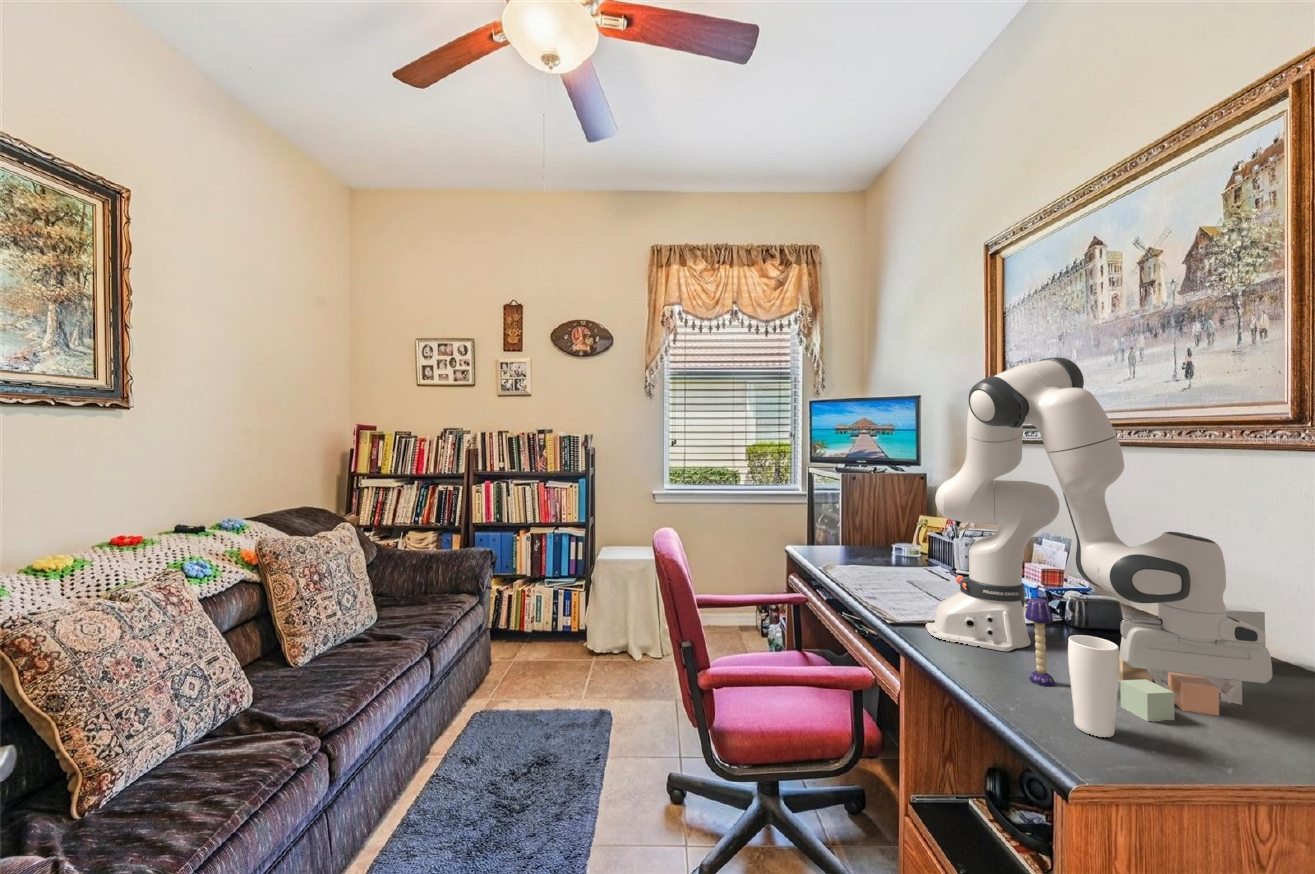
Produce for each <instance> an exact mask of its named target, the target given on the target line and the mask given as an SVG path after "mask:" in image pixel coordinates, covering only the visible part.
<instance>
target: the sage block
mask: <svg viewBox="0 0 1315 874" xmlns="http://www.w3.org/2000/svg"><path fill="white" fill-rule="evenodd" d="M1119 683H1120V685H1119V686H1120V708H1121V707H1122V709H1123V708H1124V710H1125V709H1126V710H1125V711H1127V712H1129V711H1130V712H1129V713H1131V712H1132V713H1133V715H1134V714H1135V716H1136V717H1138V716H1139V717H1138V718H1140V717H1141V718H1140V719H1142V720H1143V719H1144V721H1145V720H1147V721H1152V722H1157V721H1156V720H1174V721H1175V704H1174V692H1172V691H1170V690H1168V689H1166V688H1164V687H1161V686H1159V685H1157V684H1155V682H1153V681H1152V682H1151V681H1148V680H1146V679H1143V680H1120V682H1119ZM1132 713H1131V714H1132ZM1153 720H1154V721H1153ZM1147 721H1146V722H1147Z"/></svg>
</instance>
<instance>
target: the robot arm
mask: <svg viewBox="0 0 1315 874" xmlns="http://www.w3.org/2000/svg"><path fill="white" fill-rule="evenodd" d="M1084 384H1085V381H1084V376H1083V373H1082V371H1081V368H1079V366H1078V365H1077V364H1076V363H1075V362H1074V361H1072V360H1071V359H1068V358H1065V357H1059V356H1058V357H1048V358H1047V357H1046V358H1041V359H1039V360H1038V361H1033V362H1032V361H1031V362H1027V363H1025V364H1020V365H1017V366H1014V367H1012V368H1011V369H1010V368H1009V369H1006V370H1004V371H1002V372H999V373H998V374H996V375H991V376H988V377H986V378H984V379H982V380H980V381H979V382H977V383H975V384H974V385H973V386H971V388H970V391H969V393H968V410H967V419H966V450H965V451H966V453H965V459H964V462H963V465H962V466H961V468H960V470H959V471H958V472H957V473H956V474H955V475H953V476H952V477H951V478H949V479H947V480H945V481H944V482H942V483H941V484H940V486H939V487H938V489H936V493H935V498H934V500H935V507H936V508H937V510H938V512H939V513H940V515H941V516H942V517H943V518H945V519H948V520H951V521H956V522H961V523H967V524H981V525H983V524H985V525H994V526H997V527H998V529H997V531H996V532H995V533H994V534H992V535H989V536H987V537H984V538H981V539H978V540H976V541H975V542H972V544H971V546H970V547H969V550H968V576H967V577H964V576H963V575H957V576H955V581H956V582H957V584H958V585H959V589H960V590H959V591H958V592H957V593H955V594H953V595H951V596H950V597H949V596H948V597H947V598H945V599H944V600H942V601H941V602H939V604H938V605H937V608H936V611H935V616H934V618H935V622H934V623H927V624H926V623H925V629H926V628H927V630H928V632H929V633H930V634H931V635H933V636H934V637H937V638H939V639H942V640H941V641H943V640H946V641H945V642H949V641H950V642H949V643H955V642H959V643H958V644H960V643H963V644H962V645H966V644H968V645H967V646H973V647H977V646H980V647H979V648H984V649H989V650H990V649H991V650H994V651H995V650H996V651H1000V652H1001V651H1002V652H1010V651H1013V650H1015V649H1022V648H1026V647H1028V646H1030V645H1031V643H1032V641H1031V639H1030V636H1029V633H1028V629H1027V625H1026V620H1025V619H1026V617H1025V613H1024V607H1025V603H1026V589H1025V584H1024V583H1023V580H1022V579H1023V578H1022V577H1023V563H1024V562H1023V561H1024V553H1025V549H1026V548H1027V545H1028V543H1029V541H1030V540H1031V538H1033V536H1034V535H1035V534H1036V533H1038V532H1039V531H1040V530H1042V529H1043V528H1044V527H1046V526H1049V525H1050V524H1051V523H1053V521H1055V519H1056V518H1057V516H1058V515H1059V512H1060V504H1061V503H1060V499H1059V497H1058V494H1056V491H1054V490H1053V489H1052V487H1050V486H1049V485H1047V484H1044V483H1038V482H1033V481H1029V480H1028V481H1027V480H1003V479H1002V480H1001V479H1000V480H999V479H997V478H998V477H1001V476H1004V475H1007V474H1009V473H1011V472H1012V471H1014V470H1015V469H1016V468H1017V467H1018V466H1019V465H1021V462H1022V460H1023V432H1024V431H1023V424H1024V423H1028V424H1030V425H1032V426H1033V427H1035V428H1036V429H1037V431H1038V432H1039V434H1040V437H1041V440H1042V443H1043V445H1044V448H1045V451H1046V454H1047V456H1048V459H1049V461H1050V464H1051V466H1052V469H1053V470H1054V474H1055V476H1056V478H1057V480H1058V483H1059V485H1060V488H1061V490H1062V494H1063V498H1064V502H1065V504H1066V508H1067V511H1068V513H1069V514H1068V515H1069V517H1070V521H1071V524H1072V526H1073V530H1074V533H1075V538H1076V550H1075V566H1076V569H1077V571H1078V573H1079V574H1080V576H1081V577H1082V578H1083V579H1084V580H1085V581H1086V582H1088V583H1089V584H1091V585H1093V586H1095V587H1097V588H1100V589H1103V590H1106V591H1107V592H1110V594H1113V595H1115V596H1117V597H1119V598H1122V599H1124V600H1127V601H1129V602H1132V603H1137V604H1158V605H1157V607H1158V608H1157V611H1158V612H1157V615H1158V618H1156V617H1155V618H1154V617H1140V616H1129V618H1128V617H1127V618H1125V619H1123V620H1121V621H1120V625H1119V626H1120V629H1119V630H1120V635H1121V641H1120V645H1119V646H1120V647H1119V651H1120V656H1121V658H1122V659H1123V660H1124V661H1125V662H1126V663H1127V664H1128V665H1129V666H1131V667H1134V668H1142V669H1147V671H1148V673H1149V674H1150V676H1151V677H1152V681H1154V683H1155V684H1157V685H1159V686H1161V687H1164V688H1166V689H1168V690H1170V686H1168V683H1166V682H1163V681H1162V680H1161V678H1160V677H1162V676H1163V672H1167V673H1168V672H1172V673H1180V674H1188V675H1197V676H1198V675H1199V676H1207V677H1216V678H1222V679H1223V680H1224V681H1225V684H1224V685H1223V686H1222V688H1221V690H1220V689H1219V703H1225V704H1232V703H1231V694H1233V693H1234V692H1235V691H1236V690H1237V689H1238V688H1239V687H1240V681H1242V682H1250V683H1258V684H1267V683H1269V682H1270V681H1271V680H1272V679H1273V665H1272V664H1273V663H1272V657H1271V653H1270V651H1269V649H1268V648H1267V647H1266V645H1265V646H1264V645H1263V644H1261V643H1264V642H1265V643H1266V638H1267V637H1266V632H1265V633H1264V632H1262V631H1261V630H1259V629H1257V628H1255V627H1254V626H1252V625H1249V624H1247V623H1245V622H1242V621H1240V620H1237V619H1234V618H1231V617H1228V616H1226V607H1225V604H1224V602H1225V601H1224V593H1225V591H1226V590H1227V589H1226V588H1227V576H1226V575H1227V574H1226V572H1227V571H1226V564H1225V562H1226V561H1225V559H1224V558H1225V557H1224V553H1223V551H1222V548H1221V546H1220V545H1219V544H1218V543H1217V542H1215V541H1213V540H1212V539H1209V538H1206V537H1202V536H1198V535H1194V534H1189V533H1184V532H1178V531H1166V532H1163V533H1162V534H1161V535H1160V536H1158V537H1157V538H1156V537H1155V538H1154V539H1152V540H1150V541H1148V542H1145V543H1141V544H1137V545H1134V546H1129V545H1127V543H1124V542H1123V541H1122V539H1120V538H1119V537H1118V534H1116V532H1115V529H1114V526H1113V522H1112V518H1111V517H1110V512H1109V509H1108V506H1107V503H1106V498H1105V497H1106V491H1107V489H1108V487H1109V486H1111V485H1112V484H1114V482H1116V481H1117V480H1118V479H1119V478H1120V476H1121V475H1122V474H1123V472H1124V470H1125V460H1124V454H1123V449H1122V447H1121V444H1120V442H1119V440H1118V437H1117V434H1116V432H1115V430H1114V427H1113V424H1112V423H1111V421H1110V419H1109V417H1108V416H1107V413H1106V412H1105V410H1104V408H1103V407H1102V405H1101V403H1099V401H1098V400H1097V399H1096V397H1095V395H1094V394H1093V393H1091V391H1089V390H1087V389H1086V388H1085V389H1084ZM927 630H926V631H927ZM928 632H927V633H928ZM929 633H928V634H929ZM930 634H929V635H930ZM931 635H930V636H931ZM934 637H933V638H934Z"/></svg>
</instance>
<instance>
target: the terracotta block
mask: <svg viewBox="0 0 1315 874" xmlns="http://www.w3.org/2000/svg"><path fill="white" fill-rule="evenodd" d="M1167 685H1168V686H1170V691H1172V692H1174V705H1176V706H1177V707H1178V708H1179V709H1180V710H1181V709H1182V711H1183V712H1189V711H1191V712H1190V713H1196V714H1197V713H1198V714H1204V715H1212V716H1220V702H1219V688H1218V687H1217V686H1215V685H1214V684H1212V683H1211V682H1210V681H1208V680H1207V679H1205V678H1204V677H1203V676H1198V675H1191V674H1183V673H1175V672H1167Z"/></svg>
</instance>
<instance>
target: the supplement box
mask: <svg viewBox="0 0 1315 874" xmlns="http://www.w3.org/2000/svg"><path fill="white" fill-rule="evenodd" d="M1223 602H1224V604H1225V607H1226V616H1228V617H1231V618H1234V619H1237V620H1240V621H1242V622H1245V623H1247V624H1249V625H1252V626H1254V627H1255V628H1257V629H1259V630H1261V631H1262V632H1264V633H1265V634H1266V615H1265V614H1266V613H1265V611H1262V610H1259V609H1257V608H1253V607H1250V606H1247V605H1244V604H1241V603H1238V602H1234V601H1223ZM1261 644H1263V645H1264V646H1265V647H1266V641H1265V642H1264V643H1261Z"/></svg>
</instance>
